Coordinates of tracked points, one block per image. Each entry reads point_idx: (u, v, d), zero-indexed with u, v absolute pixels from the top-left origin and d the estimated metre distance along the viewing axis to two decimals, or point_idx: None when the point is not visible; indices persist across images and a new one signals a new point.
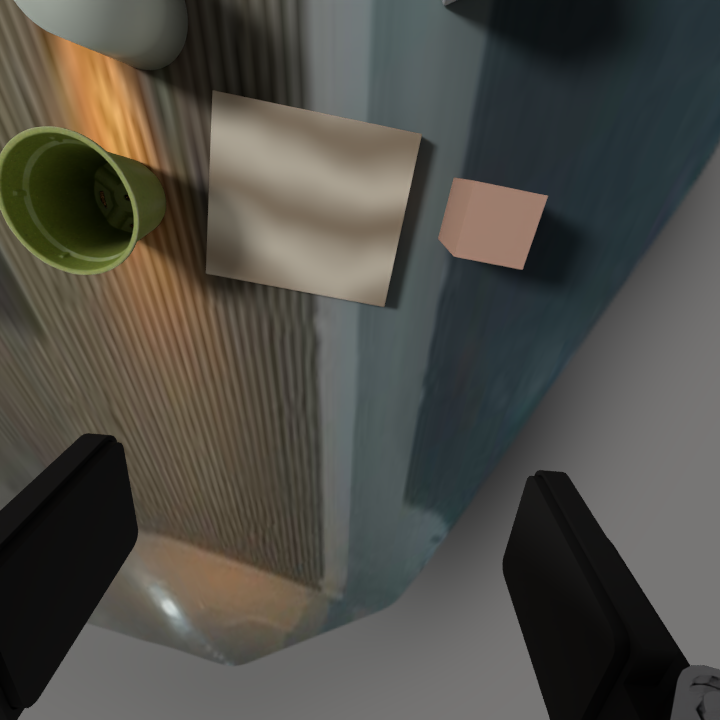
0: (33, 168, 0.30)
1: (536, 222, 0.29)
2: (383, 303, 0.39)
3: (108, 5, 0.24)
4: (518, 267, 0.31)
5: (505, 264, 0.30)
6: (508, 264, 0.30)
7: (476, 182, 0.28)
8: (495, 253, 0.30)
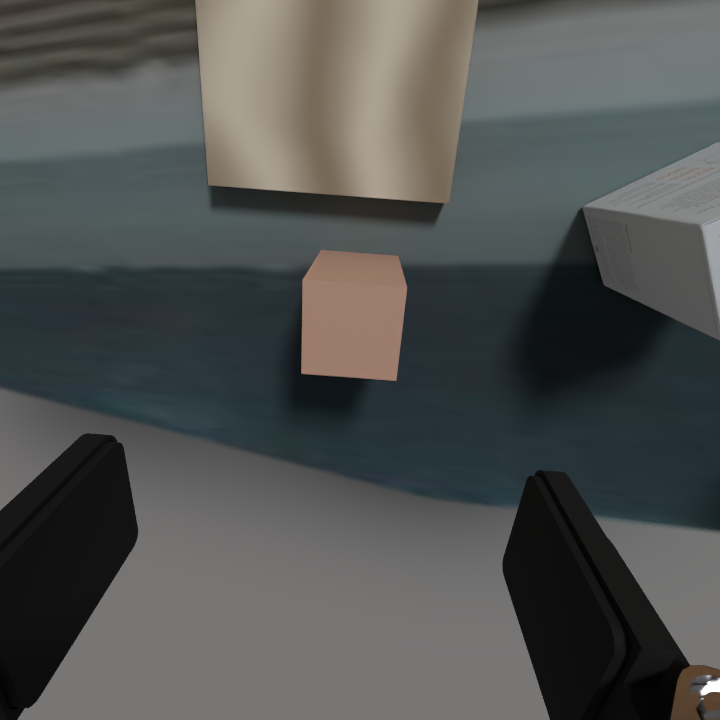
0: None
1: (363, 375, 0.23)
2: (213, 183, 0.25)
3: None
4: (303, 368, 0.22)
5: (304, 351, 0.22)
6: (305, 354, 0.22)
7: (405, 290, 0.21)
8: (316, 335, 0.22)
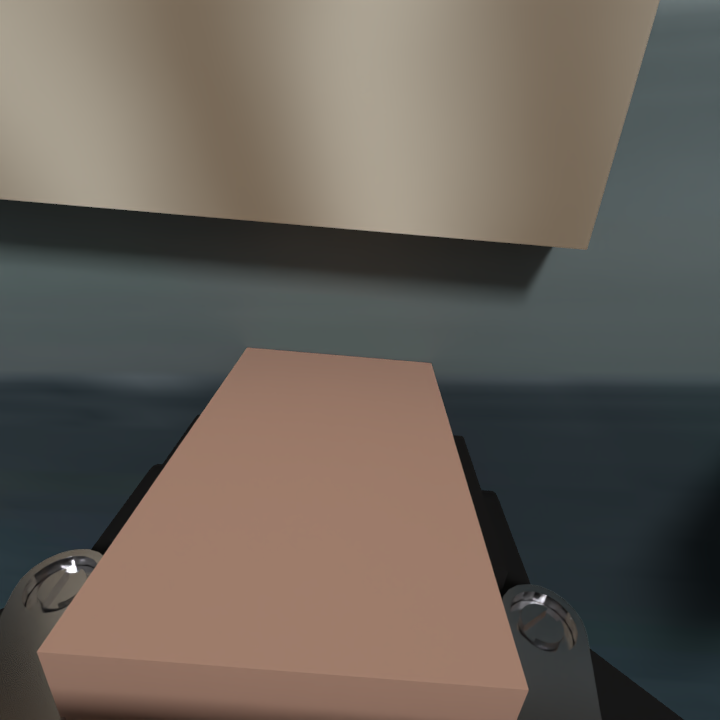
0: None
1: None
2: None
3: None
4: None
5: None
6: None
7: (519, 698, 0.04)
8: None
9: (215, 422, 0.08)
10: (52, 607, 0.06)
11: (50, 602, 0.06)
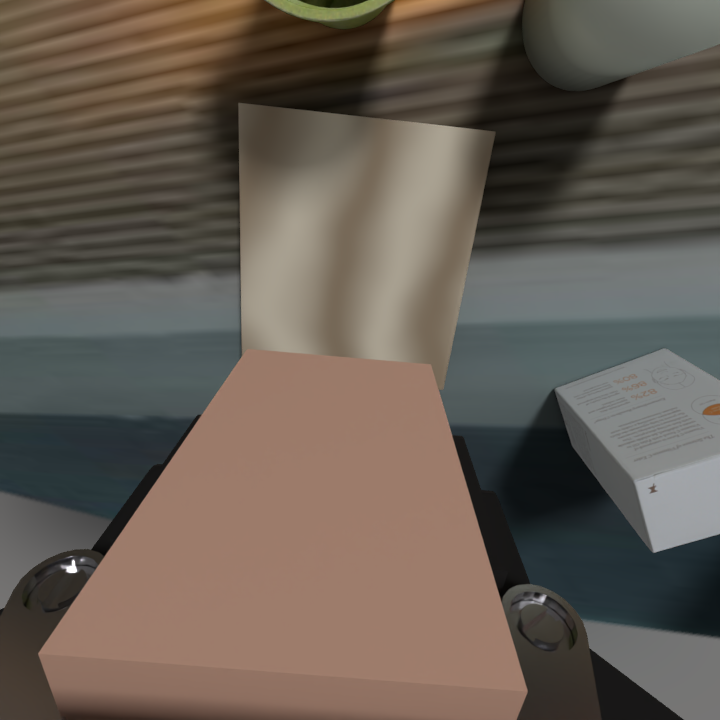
0: None
1: None
2: None
3: (642, 14, 0.15)
4: None
5: None
6: None
7: (518, 699, 0.04)
8: None
9: (215, 423, 0.08)
10: (52, 607, 0.06)
11: (50, 602, 0.06)
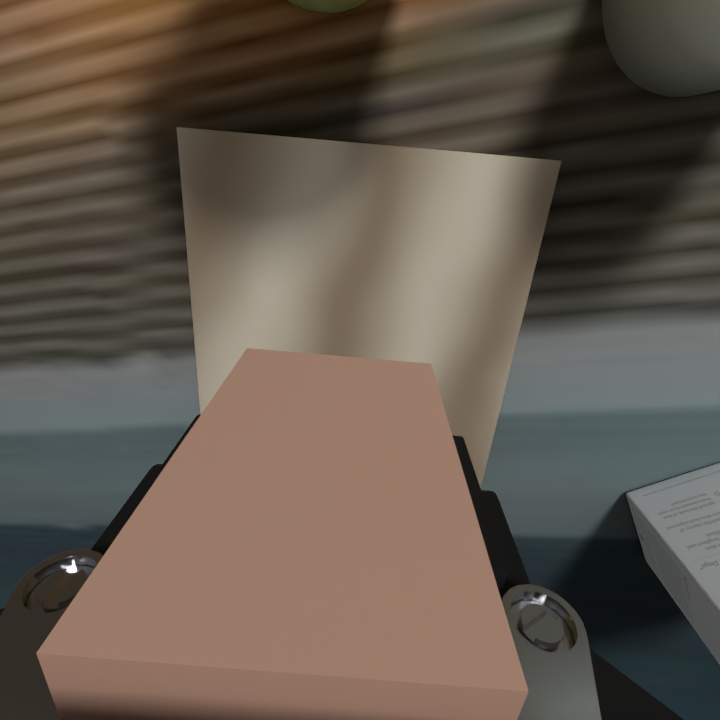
0: None
1: None
2: None
3: None
4: None
5: None
6: None
7: (518, 699, 0.04)
8: None
9: (215, 423, 0.08)
10: (52, 607, 0.06)
11: (50, 602, 0.06)
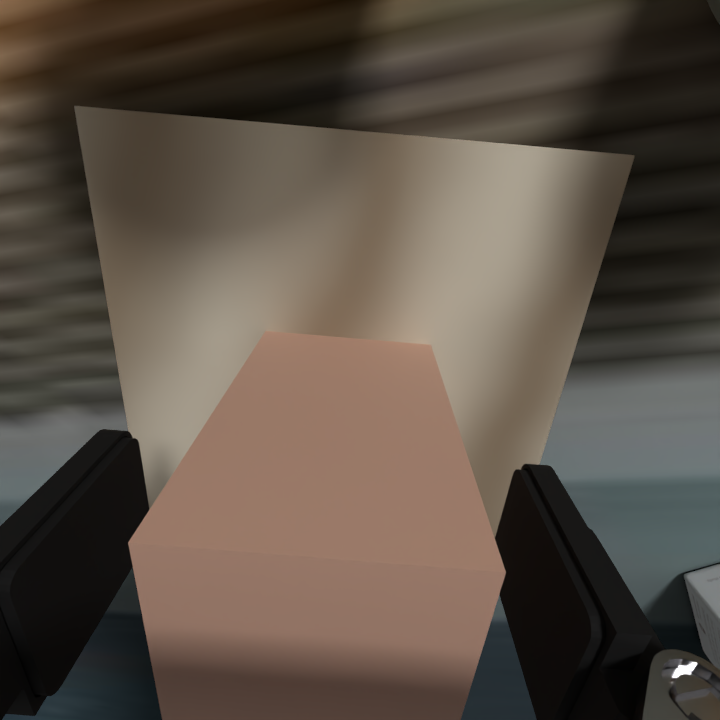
0: None
1: None
2: None
3: None
4: None
5: (167, 706, 0.07)
6: (171, 713, 0.07)
7: (498, 579, 0.06)
8: (201, 675, 0.07)
9: (244, 389, 0.10)
10: None
11: None
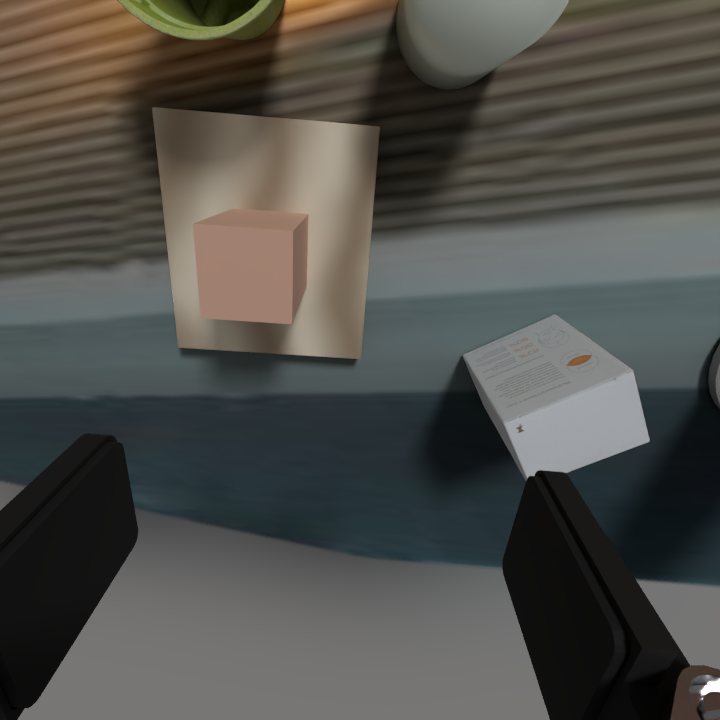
0: None
1: (260, 319, 0.24)
2: (182, 346, 0.33)
3: (452, 28, 0.19)
4: (202, 312, 0.23)
5: (201, 295, 0.23)
6: (202, 299, 0.23)
7: (291, 233, 0.22)
8: (211, 279, 0.23)
9: (224, 214, 0.25)
10: None
11: None
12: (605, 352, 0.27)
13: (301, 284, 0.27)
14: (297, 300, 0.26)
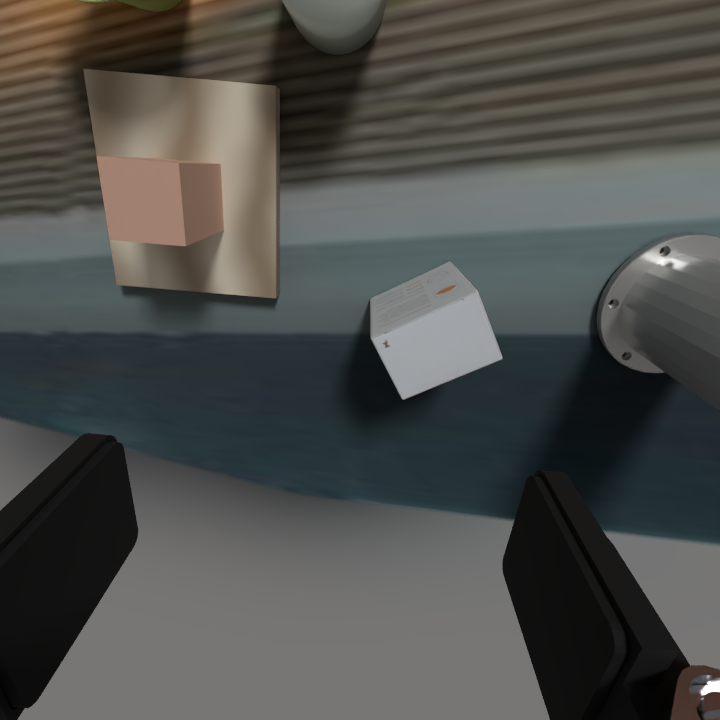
0: None
1: (158, 241, 0.28)
2: (120, 283, 0.38)
3: None
4: (110, 234, 0.28)
5: (108, 219, 0.28)
6: (109, 222, 0.28)
7: (177, 165, 0.26)
8: (116, 205, 0.27)
9: None
10: None
11: None
12: (466, 281, 0.31)
13: (207, 221, 0.32)
14: (198, 231, 0.30)
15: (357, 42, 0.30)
